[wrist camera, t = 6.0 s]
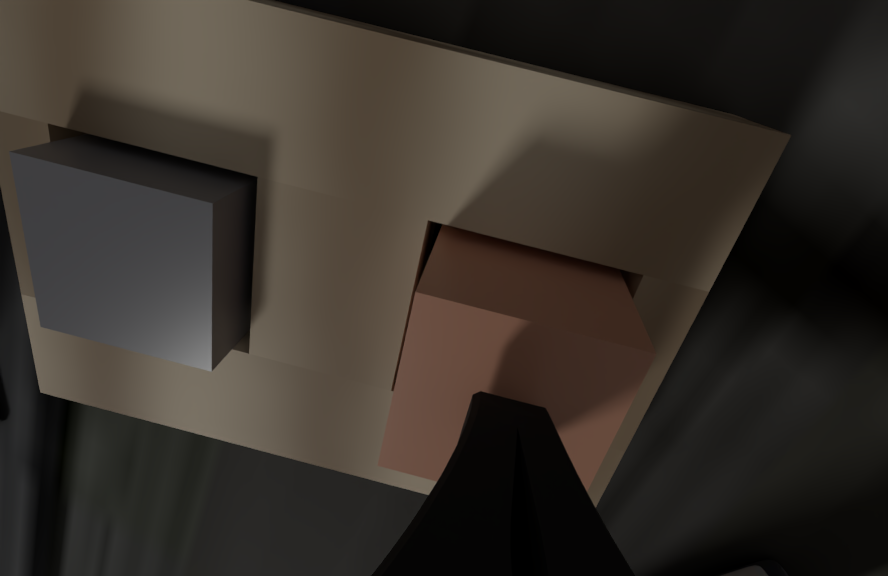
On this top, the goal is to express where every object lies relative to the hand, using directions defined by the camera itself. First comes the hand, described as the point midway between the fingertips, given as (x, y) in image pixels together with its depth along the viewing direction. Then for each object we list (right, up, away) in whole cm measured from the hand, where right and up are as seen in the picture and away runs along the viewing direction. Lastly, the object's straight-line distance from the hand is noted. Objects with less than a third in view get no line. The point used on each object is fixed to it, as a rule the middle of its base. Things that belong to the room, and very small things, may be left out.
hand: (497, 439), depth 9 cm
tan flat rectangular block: (-3, +4, +6) cm, 8 cm away
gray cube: (-8, +5, +6) cm, 11 cm away
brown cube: (+1, +2, +4) cm, 5 cm away
